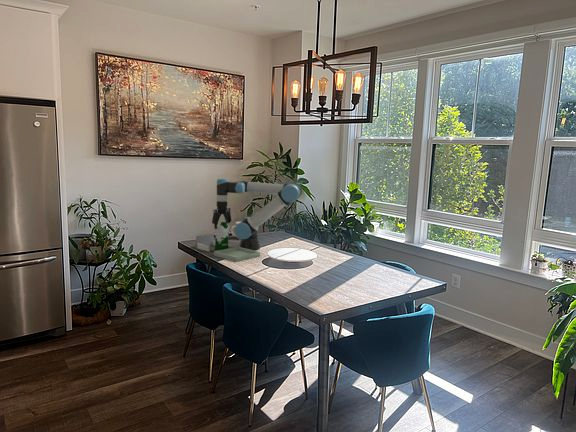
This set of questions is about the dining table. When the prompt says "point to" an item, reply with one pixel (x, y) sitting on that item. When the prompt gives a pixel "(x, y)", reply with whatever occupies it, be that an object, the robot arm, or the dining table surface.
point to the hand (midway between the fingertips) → (221, 232)
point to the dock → (205, 241)
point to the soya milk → (222, 237)
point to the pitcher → (235, 227)
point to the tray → (237, 254)
